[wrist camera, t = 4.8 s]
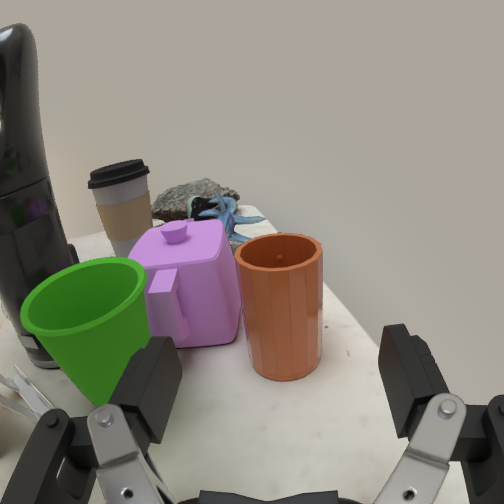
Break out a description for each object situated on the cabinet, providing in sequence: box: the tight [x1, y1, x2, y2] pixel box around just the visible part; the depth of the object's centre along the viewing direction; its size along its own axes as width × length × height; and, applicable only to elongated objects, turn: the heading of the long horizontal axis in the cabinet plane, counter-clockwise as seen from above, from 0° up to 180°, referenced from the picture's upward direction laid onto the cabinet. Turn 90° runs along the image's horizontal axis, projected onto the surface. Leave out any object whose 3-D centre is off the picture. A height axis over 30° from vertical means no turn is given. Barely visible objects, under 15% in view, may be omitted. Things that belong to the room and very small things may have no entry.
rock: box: [151, 178, 240, 223], centre depth 60 cm, size 18×10×10 cm
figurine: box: [190, 191, 266, 243], centre depth 45 cm, size 10×12×8 cm
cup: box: [20, 257, 151, 407], centre depth 20 cm, size 9×9×11 cm
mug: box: [234, 232, 323, 381], centre depth 26 cm, size 10×6×10 cm, turn 176°
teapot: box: [128, 218, 241, 348], centre depth 31 cm, size 18×10×10 cm, turn 3°
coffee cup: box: [88, 159, 153, 258], centre depth 44 cm, size 9×9×15 cm
